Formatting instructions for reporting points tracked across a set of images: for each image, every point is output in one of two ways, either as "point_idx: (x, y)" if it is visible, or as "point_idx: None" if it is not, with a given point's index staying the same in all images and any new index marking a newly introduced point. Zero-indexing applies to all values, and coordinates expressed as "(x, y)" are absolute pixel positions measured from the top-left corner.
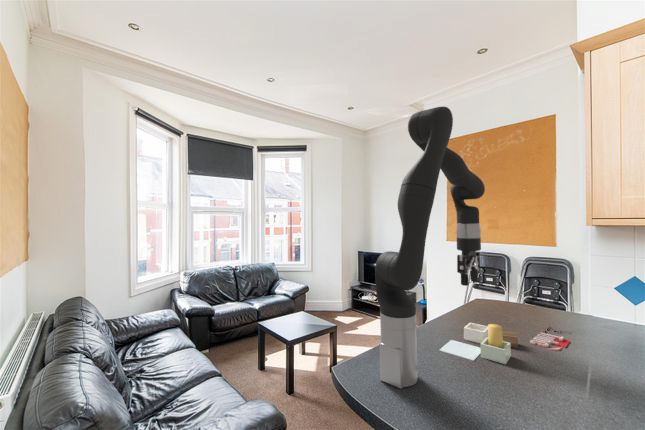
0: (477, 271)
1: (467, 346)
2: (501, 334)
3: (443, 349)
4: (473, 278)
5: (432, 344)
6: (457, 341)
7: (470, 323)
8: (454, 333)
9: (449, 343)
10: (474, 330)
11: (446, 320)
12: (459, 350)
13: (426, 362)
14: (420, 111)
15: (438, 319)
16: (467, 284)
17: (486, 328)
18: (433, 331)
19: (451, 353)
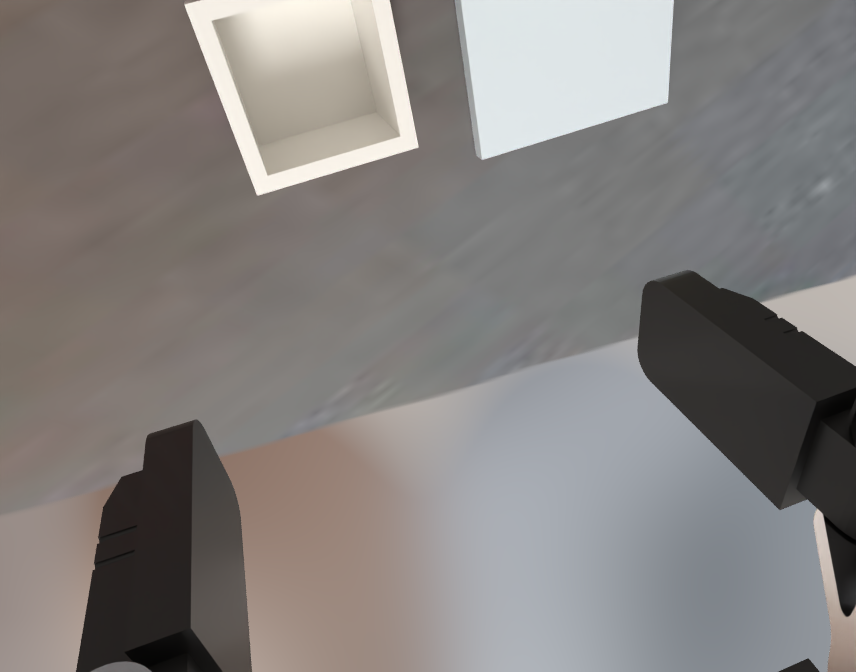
0: (134, 639)
1: (504, 17)
2: None
3: (648, 90)
4: (224, 506)
5: (583, 196)
6: (476, 117)
7: (277, 176)
8: (323, 241)
9: (543, 127)
10: (399, 52)
11: (156, 426)
12: (600, 14)
13: (798, 60)
14: None
15: None
16: (695, 277)
17: (262, 2)
18: (409, 325)
19: (670, 21)
